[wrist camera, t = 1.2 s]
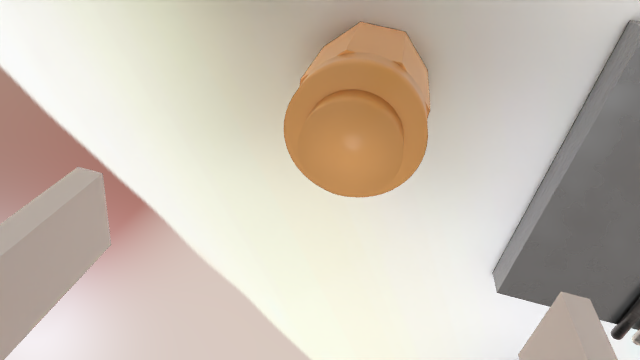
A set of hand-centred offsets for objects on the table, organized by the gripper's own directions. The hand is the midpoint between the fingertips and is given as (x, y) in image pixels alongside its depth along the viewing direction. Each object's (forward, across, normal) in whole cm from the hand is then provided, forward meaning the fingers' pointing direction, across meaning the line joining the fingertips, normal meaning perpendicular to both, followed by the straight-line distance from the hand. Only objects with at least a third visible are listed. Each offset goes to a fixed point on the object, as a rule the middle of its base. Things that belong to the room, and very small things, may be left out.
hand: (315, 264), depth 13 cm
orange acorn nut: (+16, 0, 0) cm, 16 cm away
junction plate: (+16, +21, -3) cm, 27 cm away
